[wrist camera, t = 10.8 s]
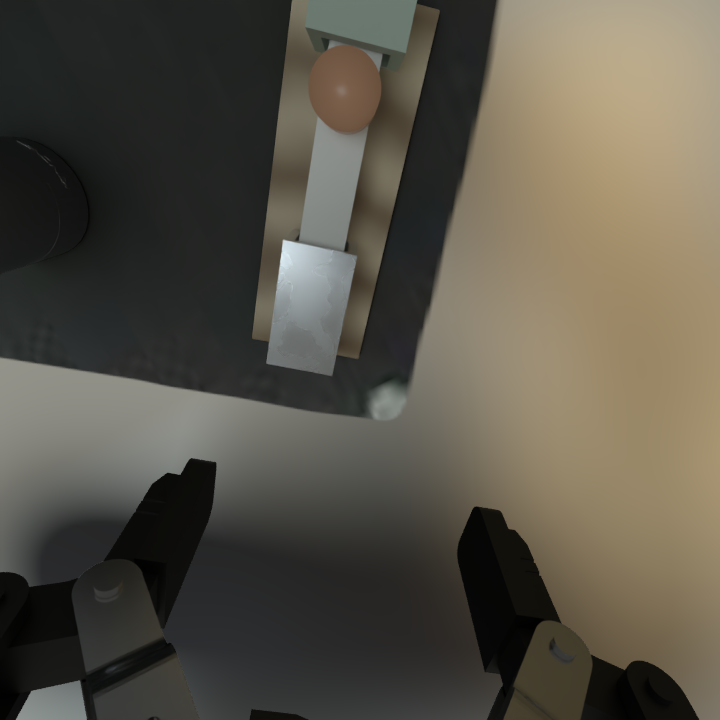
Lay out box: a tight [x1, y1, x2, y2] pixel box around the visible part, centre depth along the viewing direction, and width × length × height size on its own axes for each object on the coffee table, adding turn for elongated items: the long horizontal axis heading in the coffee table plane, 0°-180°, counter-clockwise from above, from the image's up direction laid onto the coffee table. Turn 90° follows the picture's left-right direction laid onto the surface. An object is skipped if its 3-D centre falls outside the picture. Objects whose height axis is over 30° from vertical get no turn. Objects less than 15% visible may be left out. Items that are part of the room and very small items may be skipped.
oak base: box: [252, 0, 440, 359], centre depth 36 cm, size 27×10×1 cm, turn 168°
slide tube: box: [299, 40, 383, 251], centre depth 29 cm, size 17×4×8 cm, turn 168°
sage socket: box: [305, 0, 417, 72], centre depth 28 cm, size 4×6×6 cm, turn 78°
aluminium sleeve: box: [266, 229, 357, 376], centre depth 36 cm, size 10×5×5 cm, turn 168°
